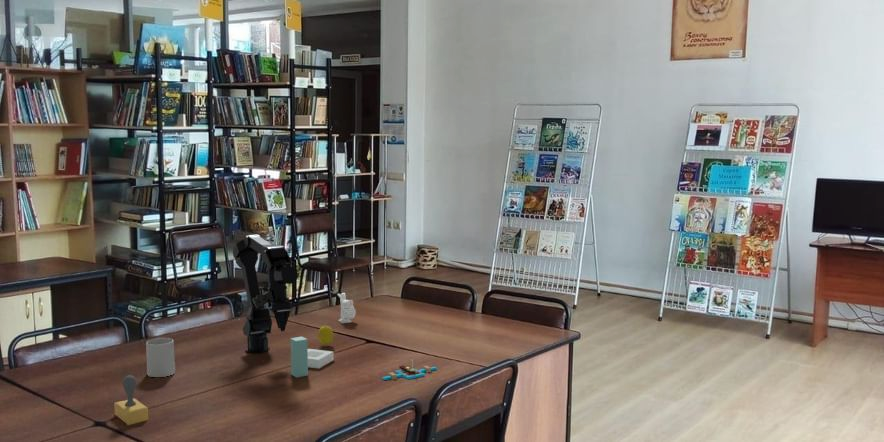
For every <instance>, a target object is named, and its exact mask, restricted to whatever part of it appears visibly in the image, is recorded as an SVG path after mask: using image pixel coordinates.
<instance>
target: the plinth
mask: <svg viewBox="0 0 884 442" xmlns="http://www.w3.org/2000/svg"><path fill="white" fill-rule="evenodd" d="M307 350H308V368H312V369H321V368H323V367H324V366H327V365H328V364H329V363H331V362H333V361H334V351H330V350H323V349H315V348H314V349H313V348H307Z"/></svg>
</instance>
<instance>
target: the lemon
mask: <svg viewBox="0 0 884 442" xmlns="http://www.w3.org/2000/svg"><path fill="white" fill-rule="evenodd" d="M317 334H318V335H317V337H318V338H317V340H318V341H319V343H320V344H321V345H323V346H324V347H327V346H329V345H330V344H331V343H332V342H333V340H334V331H333V329H332V328H331V326H330V325H329V326H328V325H327V324H324V325H323V326H322V327H320V328H319V329H318V332H317Z"/></svg>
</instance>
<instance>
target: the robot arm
mask: <svg viewBox="0 0 884 442" xmlns="http://www.w3.org/2000/svg"><path fill="white" fill-rule="evenodd" d="M259 255H260V256H261V259H262V261H263V262H264V263H265V265H266V267H265V271H267V279H268V288H267V291H266V292H264V293H261V290H260V285H259V279H258V275H257V269H256V265H257V262H258V260H259ZM232 256H233V257H234V261H235V264H236V265H237V266H238V267H239V268H240V269H241V273H242V277H243V282H244V287H245V294H246V299H247V303H248V311H247V312H246V313H247V314H246V316H245V318H246V321H245V323H244V325H243V327H242V331H243V332H242V333H243V335H244V336H246V338H247V348H246V349H245V350H244V352H245V353H251V354H252V353H253V354H262V353H265V352H267V351H268V350H270V346H269V338H268V334H271V332H272V326H273V320H272V317H271V314H270V311H271V313H272V314H273V315H274V317H275V322H276V325H277V327H278V329H280V331H281V332H285V330H286V327H287V323H288V321H289V318H290V315H291V312H292V309H293V308H292V303H291V301H289V298H288V290H287V289H288V285H290V284H294V283H295V282H296V281H297V279H298V276H299V275H298V272H297V269H296V268H294V266H292V265H293V262H292V261H293V260H292V258H291V256H290V255H289V253H288V250H287V249H286V248H285V246H284V245H281V244H272V243H271V242H269V241H267V240H266V239H264V238H263V237H261V235H260V234H248V235H245V236H244V238H243V239H242V240H240V241H238V242H236V244H235V245H234V247H233V249H232ZM265 304H267V308H266V307H265Z"/></svg>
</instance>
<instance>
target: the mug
mask: <svg viewBox="0 0 884 442" xmlns="http://www.w3.org/2000/svg"><path fill="white" fill-rule="evenodd" d="M174 343H175V342H174V339H173V338H169V337H157V338H152V339H149V340H146V343H145V349H146V351H145V353H146V375H148V376H151V377H164V376H169V377H171V376H170V375H172V376H173V374H174V375H175V374H176V373H175V372H176V363H175V362H176V360H175V344H174ZM148 376H147V377H148Z"/></svg>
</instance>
